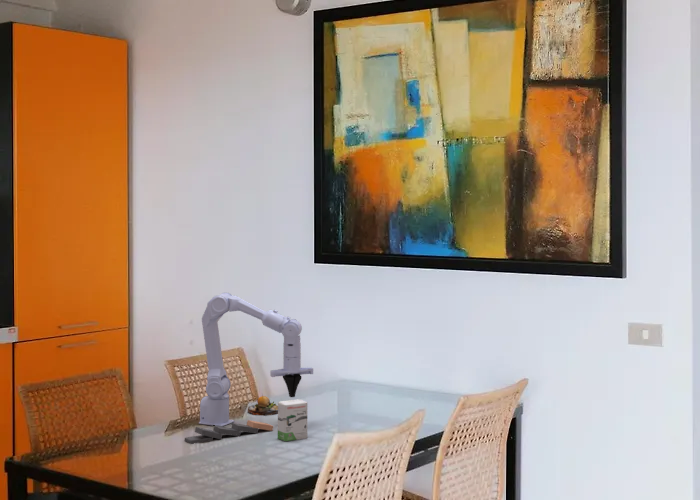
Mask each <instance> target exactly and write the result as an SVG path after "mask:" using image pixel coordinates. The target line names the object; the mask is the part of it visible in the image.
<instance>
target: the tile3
mask: <svg viewBox="0 0 700 500" xmlns="http://www.w3.org/2000/svg"><path fill="white" fill-rule="evenodd" d="M212 431H215V432H217V433H219V434H222V435H227V436H233V437H234V436H236V437H241V432H242V431H237V430H235V429H232V428H231V427H226V426H213V429H212Z"/></svg>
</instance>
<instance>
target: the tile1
mask: <svg viewBox="0 0 700 500" xmlns="http://www.w3.org/2000/svg"><path fill="white" fill-rule="evenodd" d="M246 425H248V426H250V427H253V428H258V430H264V431H271V432H272V431H273V429H274V425H271V424H270V423H266V422H262V421H255V420H249V419H247V421H246Z"/></svg>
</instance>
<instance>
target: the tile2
mask: <svg viewBox="0 0 700 500" xmlns="http://www.w3.org/2000/svg"><path fill="white" fill-rule="evenodd" d="M230 428H232V429H235V430H237V431H241V432H244V433H251V434H258V431H259V429H258V428H253V427H250V426H248V425H247V424H241V423H234V422H232V423H231V426H230Z"/></svg>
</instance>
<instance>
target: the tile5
mask: <svg viewBox="0 0 700 500" xmlns="http://www.w3.org/2000/svg"><path fill="white" fill-rule="evenodd" d="M213 439H214V438H213V437H209V436H204V435H201V434H199V435H193V436H186V437H184V442H185V443H188V444H190V445H193V444H194V443H195V444H200V443H207V442H212V440H213ZM195 444H194V445H195Z"/></svg>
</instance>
